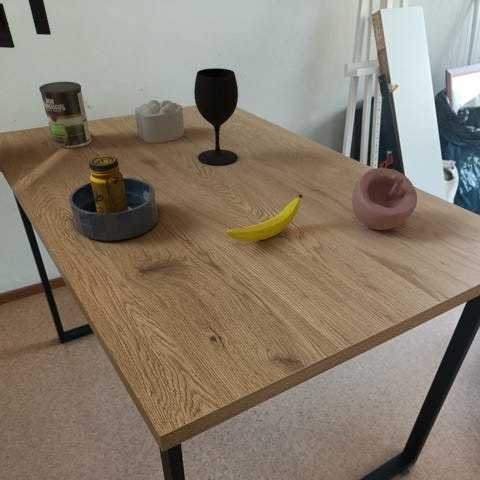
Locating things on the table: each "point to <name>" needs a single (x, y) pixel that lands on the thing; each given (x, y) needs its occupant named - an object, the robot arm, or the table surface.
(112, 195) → the condiment
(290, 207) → the banana
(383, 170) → the mortar and pestle
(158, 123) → the lumpy-topped squat cylinder
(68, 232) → the table surface
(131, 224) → the bowl
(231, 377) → the table surface
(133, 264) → the table surface
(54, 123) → the coffee can
